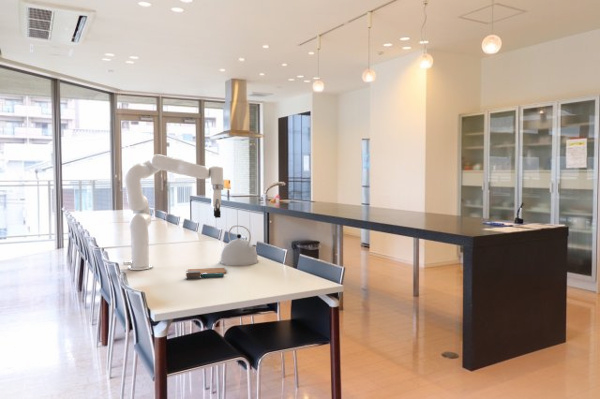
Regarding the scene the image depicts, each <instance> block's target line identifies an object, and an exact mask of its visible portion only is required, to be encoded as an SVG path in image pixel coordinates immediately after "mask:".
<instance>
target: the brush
mask: <svg viewBox="0 0 600 399" xmlns="http://www.w3.org/2000/svg"><path fill="white" fill-rule="evenodd" d="M185 276H186V280H200V279H209V278H210V279H211V278H223V277H224V276H225V274H224V273H208V274H201V275H200V271H188V270H187V271H186V275H185Z"/></svg>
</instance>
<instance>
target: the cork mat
mask: <svg viewBox="0 0 600 399" xmlns="http://www.w3.org/2000/svg"><path fill="white" fill-rule="evenodd" d="M187 271H200V275H201V274H208V273H224V275H225V274H227V273H226V270H225V267H211V268H209V267H207V268H189V269H187Z"/></svg>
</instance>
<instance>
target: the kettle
mask: <svg viewBox="0 0 600 399" xmlns="http://www.w3.org/2000/svg"><path fill="white" fill-rule="evenodd" d="M236 227H237V228H238V227H239V228H243V229H245V230H246V231H247V232H248V236H249V238H248V240H247V239H243V238H242V234H240V233H238V234H237V235H236V239H232V240H231V237H230V236H231V232H232V231H231V230H232V229H234V228H236ZM227 236H228V239H229V242H228V243H227V244H225V246H224V247H223V248H222V250H221V252H220V264H221V265H225V266H248V265H254V264H257V263H258V262H259V261H258V253H257V252H258V251H257V250H256V248H257V245H256V244H252V242H251V239H252V234H251V231H250V230H249V228H248V227H246V226H244V225H240V224H239V225H238V224H237V225H232V226H231V227H230V228H229V230H228V235H227Z"/></svg>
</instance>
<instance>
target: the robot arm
mask: <svg viewBox="0 0 600 399" xmlns="http://www.w3.org/2000/svg"><path fill="white" fill-rule="evenodd" d="M160 171H164V172H168V173H172V174H176V175H182V176H187V177H191V178H196V179H199V180H206V179H209V190H210V191H211V207H212V208H213V217H214V218H215V219H218V218H219V219H220V218H221V207H222V191H224V168H223V166H221V165H219V166H218V165H217V166H215V165H214V166H205V165H201V164H196V163H192V162H190V161H187V160H184V159H180V158H178V157H177V158H176V157H173V156H169V155H165V154H160V153H156V154H154V155H152V156H151V158H150V159H149V160H146V161H145V162H142V163H136V164H133V165H132V166H130V167H129V168H128V169H127V170H126V172H125V174H124V186H125V187H124V188H125V192H126V193H125V194H126V199H127V207H128V209H130V210H131V211H132V213H133V215H132V216H131V218H130V220H129V230H130V245H131V246H130V248H131V250H130V251H131V252H130V254H131V255H130V256H131V260H129V261H123V266H128V270H130V271H144V270H150V269H152V268H153V265H152V264H150V245H149V244H150V241H149V237H150V236H149V226H150V225H151V222H152V215H151V209H150V204H149V200H148V198H147V196H145V195H144V194H143V189H142V188H143V187H142V184H141V180H142V179H147V178H150V177H151V176H153V175H154V174H157V173H159V172H160Z"/></svg>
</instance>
